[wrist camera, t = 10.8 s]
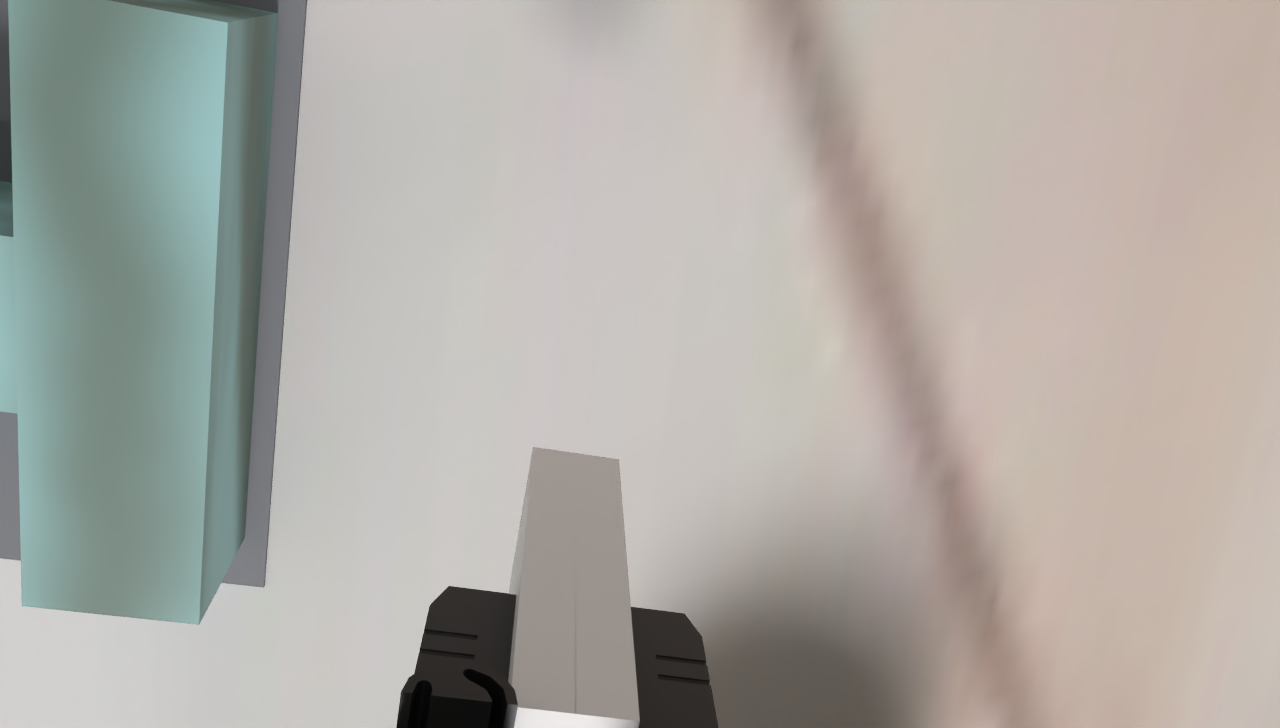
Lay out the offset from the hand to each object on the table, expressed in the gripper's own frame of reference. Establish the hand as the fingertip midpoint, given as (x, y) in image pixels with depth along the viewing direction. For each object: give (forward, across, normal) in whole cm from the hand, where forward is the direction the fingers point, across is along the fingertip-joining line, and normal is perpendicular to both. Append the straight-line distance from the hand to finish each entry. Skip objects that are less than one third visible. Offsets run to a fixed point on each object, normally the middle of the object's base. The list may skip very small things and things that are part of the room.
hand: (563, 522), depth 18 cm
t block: (+9, -15, 0) cm, 17 cm away
